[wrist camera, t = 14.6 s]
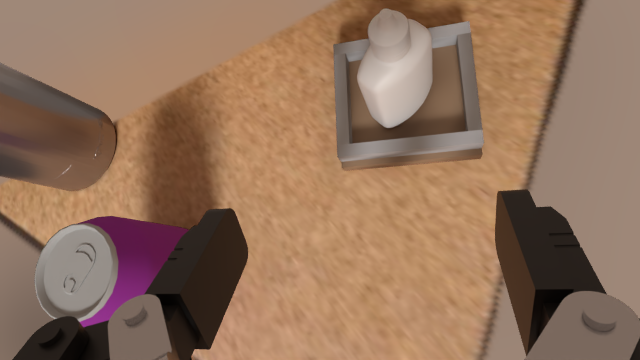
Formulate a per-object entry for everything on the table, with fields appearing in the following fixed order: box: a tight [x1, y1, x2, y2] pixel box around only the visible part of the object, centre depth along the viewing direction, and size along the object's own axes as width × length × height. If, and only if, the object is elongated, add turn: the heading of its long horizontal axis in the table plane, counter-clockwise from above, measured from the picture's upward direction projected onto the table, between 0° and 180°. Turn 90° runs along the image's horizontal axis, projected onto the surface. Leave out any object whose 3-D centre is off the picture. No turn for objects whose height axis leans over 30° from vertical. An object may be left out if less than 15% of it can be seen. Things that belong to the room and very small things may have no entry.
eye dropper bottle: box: [357, 8, 433, 128], centre depth 28 cm, size 4×6×12 cm
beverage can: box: [34, 216, 189, 327], centre depth 32 cm, size 8×8×12 cm
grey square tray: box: [333, 21, 484, 171], centre depth 34 cm, size 11×11×3 cm
